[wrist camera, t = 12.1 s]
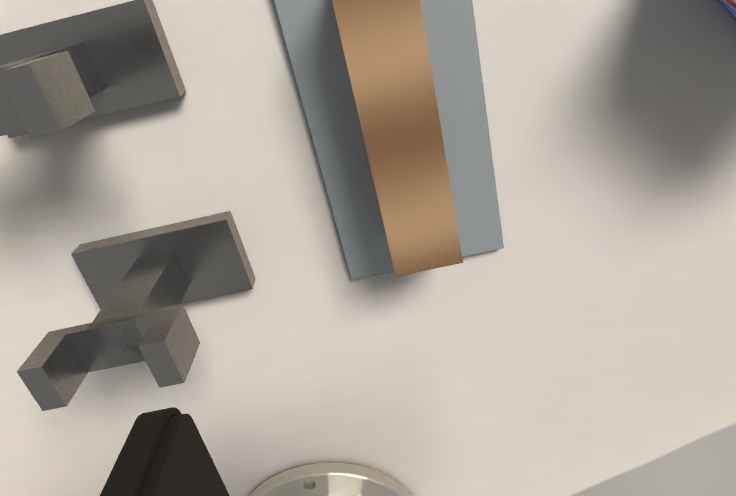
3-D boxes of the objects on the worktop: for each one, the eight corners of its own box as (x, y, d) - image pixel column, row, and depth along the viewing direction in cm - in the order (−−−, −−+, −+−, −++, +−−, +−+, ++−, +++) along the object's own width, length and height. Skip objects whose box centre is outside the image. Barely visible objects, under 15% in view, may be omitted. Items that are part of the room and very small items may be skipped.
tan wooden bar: (448, 223, 28) (463, 262, 25) (390, 236, 28) (395, 276, 25) (403, -40, 23) (413, -39, 19) (331, -22, 23) (327, -18, 19)
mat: (501, 243, 29) (503, 248, 29) (351, 275, 30) (351, 279, 29) (455, -112, 22) (457, -113, 22) (258, -61, 23) (256, -61, 22)
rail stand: (255, 278, 30) (220, 396, 22) (113, 308, 30) (29, 434, 22) (150, -4, 23) (48, 17, 15) (-27, 42, 24) (-214, 84, 16)
